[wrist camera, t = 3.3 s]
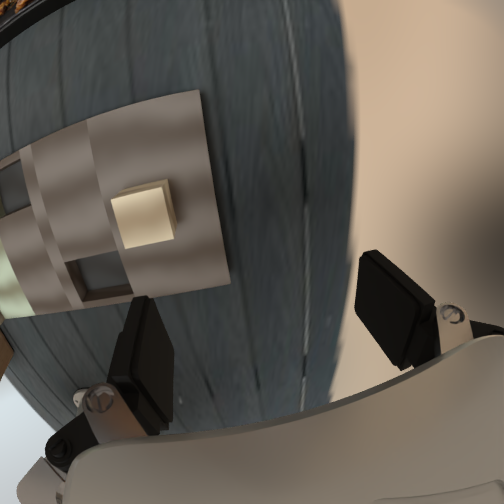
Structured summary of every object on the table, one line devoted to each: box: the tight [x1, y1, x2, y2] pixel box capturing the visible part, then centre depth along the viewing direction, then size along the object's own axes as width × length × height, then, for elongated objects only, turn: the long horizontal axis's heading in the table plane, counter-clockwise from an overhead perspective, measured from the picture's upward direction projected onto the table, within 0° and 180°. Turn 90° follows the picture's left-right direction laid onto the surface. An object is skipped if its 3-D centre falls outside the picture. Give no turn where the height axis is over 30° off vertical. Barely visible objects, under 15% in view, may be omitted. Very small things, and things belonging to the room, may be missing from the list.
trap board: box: [0, 89, 231, 325], centre depth 25 cm, size 22×40×6 cm, turn 97°
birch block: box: [111, 179, 177, 249], centre depth 25 cm, size 5×5×4 cm
